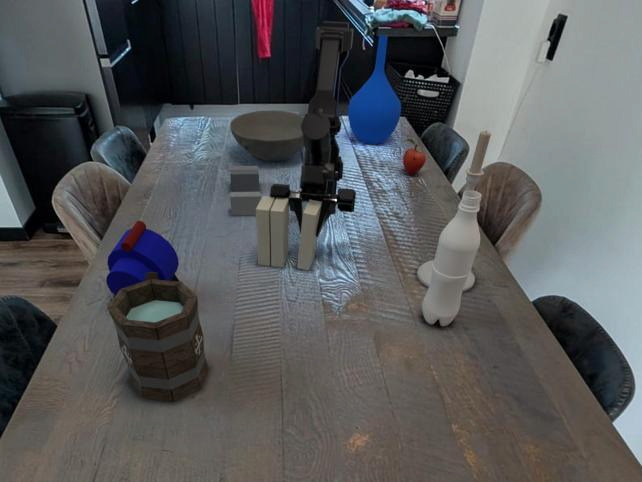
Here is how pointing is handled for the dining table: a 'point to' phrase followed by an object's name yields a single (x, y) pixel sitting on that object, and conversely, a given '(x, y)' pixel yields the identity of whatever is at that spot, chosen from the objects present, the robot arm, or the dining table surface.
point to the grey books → (244, 190)
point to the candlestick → (472, 180)
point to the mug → (160, 337)
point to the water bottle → (453, 262)
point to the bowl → (269, 134)
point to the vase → (375, 104)
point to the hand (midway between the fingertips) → (309, 235)
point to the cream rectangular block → (308, 234)
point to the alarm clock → (140, 258)
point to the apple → (413, 160)
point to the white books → (272, 231)
